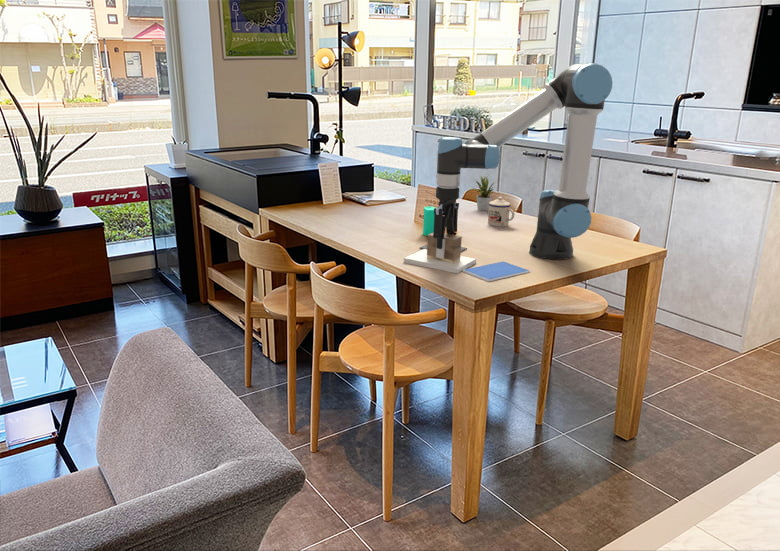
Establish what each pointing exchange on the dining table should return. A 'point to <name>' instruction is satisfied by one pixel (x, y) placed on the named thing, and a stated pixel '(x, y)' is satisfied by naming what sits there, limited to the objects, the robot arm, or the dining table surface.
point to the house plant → (483, 194)
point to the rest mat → (426, 248)
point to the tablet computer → (495, 271)
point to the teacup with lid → (499, 212)
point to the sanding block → (451, 248)
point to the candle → (428, 220)
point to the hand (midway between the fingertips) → (444, 255)
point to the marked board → (439, 262)
